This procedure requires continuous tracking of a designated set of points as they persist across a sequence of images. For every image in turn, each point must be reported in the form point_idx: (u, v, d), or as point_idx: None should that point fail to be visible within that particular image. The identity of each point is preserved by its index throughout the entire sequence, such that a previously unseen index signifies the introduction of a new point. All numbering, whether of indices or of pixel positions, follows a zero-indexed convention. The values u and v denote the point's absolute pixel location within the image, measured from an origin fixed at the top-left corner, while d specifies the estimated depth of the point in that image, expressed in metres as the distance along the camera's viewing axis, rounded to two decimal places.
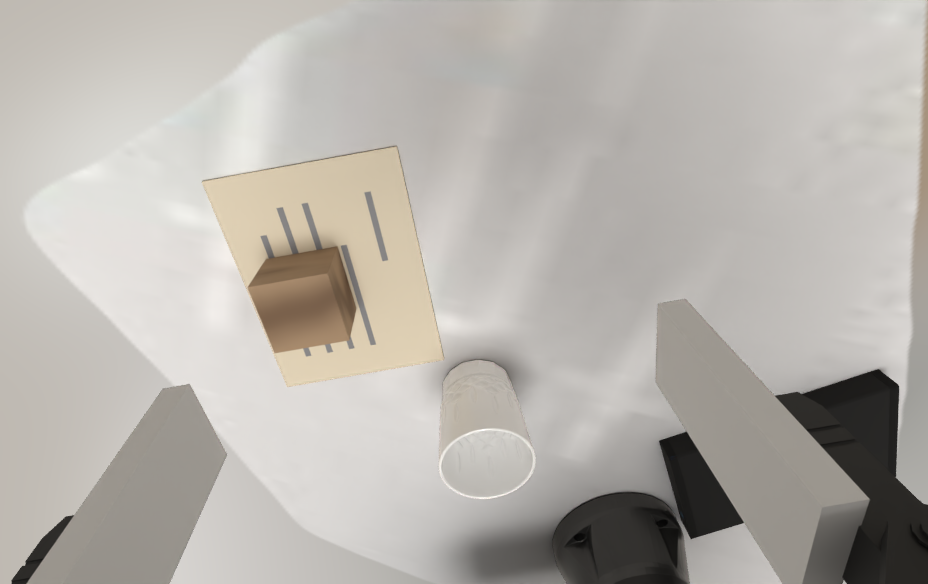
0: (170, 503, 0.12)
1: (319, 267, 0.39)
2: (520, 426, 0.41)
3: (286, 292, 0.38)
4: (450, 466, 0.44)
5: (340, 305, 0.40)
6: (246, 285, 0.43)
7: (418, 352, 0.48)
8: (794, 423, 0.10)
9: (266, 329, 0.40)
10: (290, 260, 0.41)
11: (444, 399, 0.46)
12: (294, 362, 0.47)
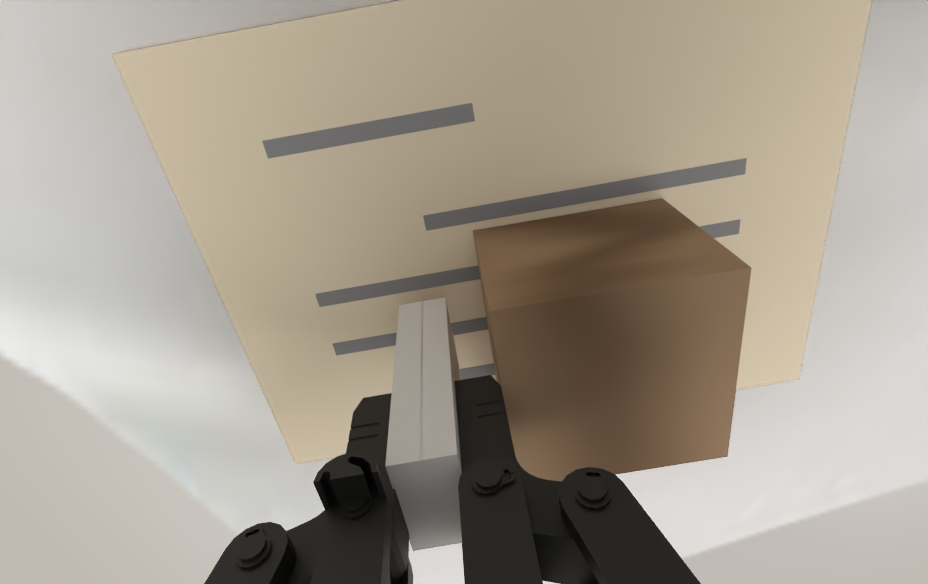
0: None
1: (488, 310, 0.13)
2: None
3: (541, 414, 0.13)
4: None
5: (618, 275, 0.12)
6: None
7: (821, 16, 0.14)
8: (448, 398, 0.12)
9: (648, 466, 0.14)
10: None
11: None
12: None
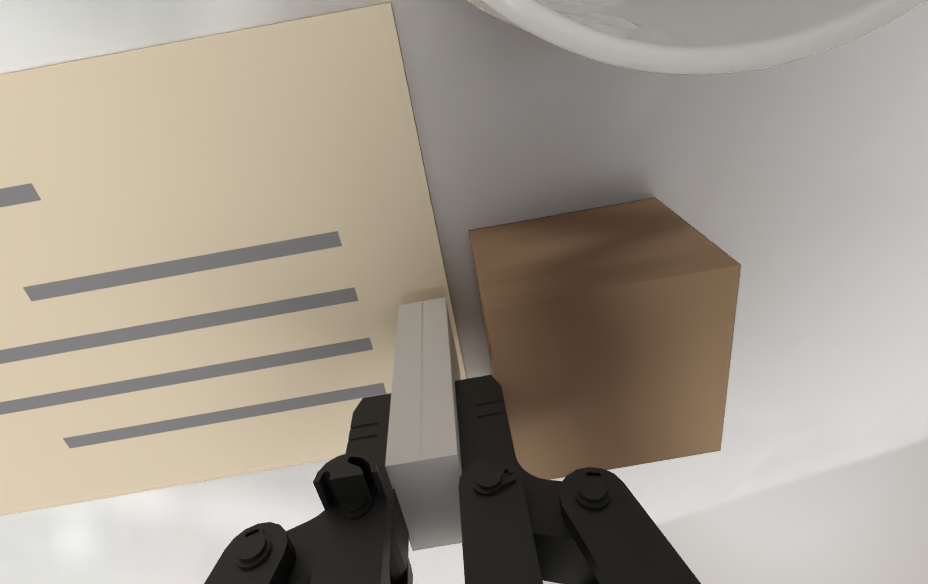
0: None
1: (484, 309, 0.14)
2: None
3: (537, 410, 0.14)
4: None
5: (611, 273, 0.13)
6: (204, 478, 0.20)
7: (361, 100, 0.14)
8: (448, 398, 0.12)
9: (642, 460, 0.15)
10: (488, 345, 0.17)
11: None
12: None
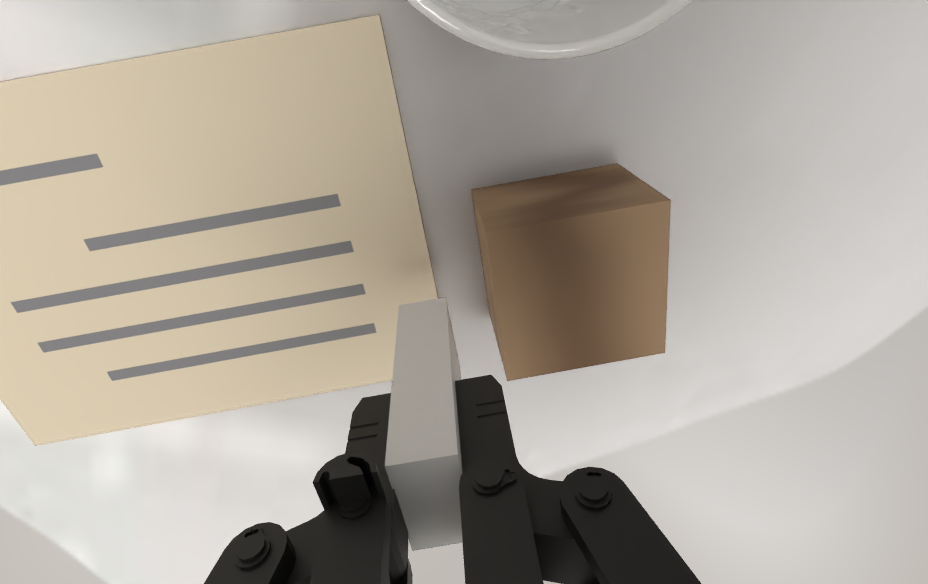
0: None
1: (484, 240, 0.18)
2: None
3: (524, 316, 0.18)
4: (621, 0, 0.11)
5: (578, 208, 0.17)
6: (223, 409, 0.24)
7: (356, 89, 0.18)
8: (449, 398, 0.12)
9: (605, 360, 0.19)
10: (486, 280, 0.21)
11: None
12: (392, 352, 0.24)
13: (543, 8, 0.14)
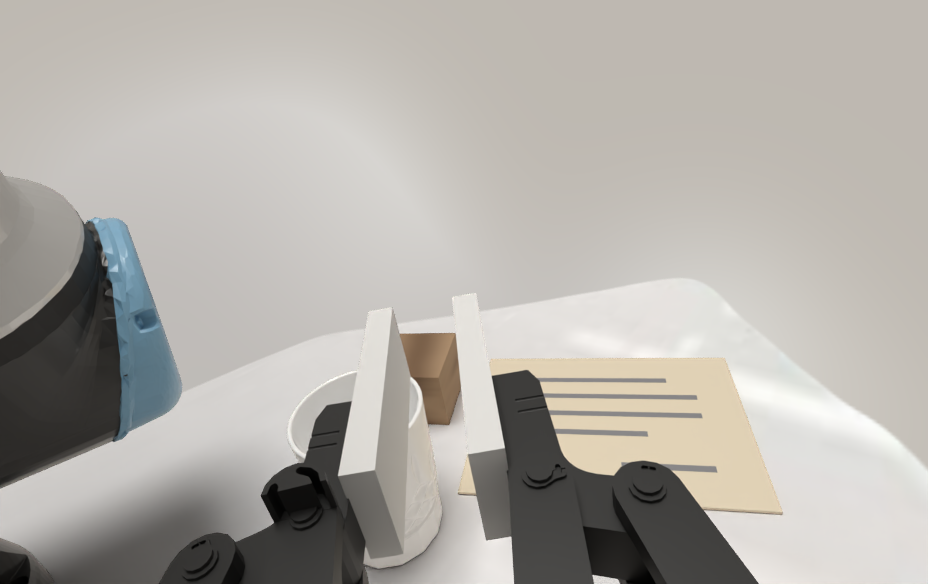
0: (399, 401, 0.14)
1: (443, 384, 0.41)
2: None
3: (437, 351, 0.42)
4: None
5: None
6: (612, 359, 0.45)
7: None
8: (490, 392, 0.12)
9: (414, 334, 0.45)
10: (456, 384, 0.44)
11: None
12: (516, 369, 0.46)
13: None
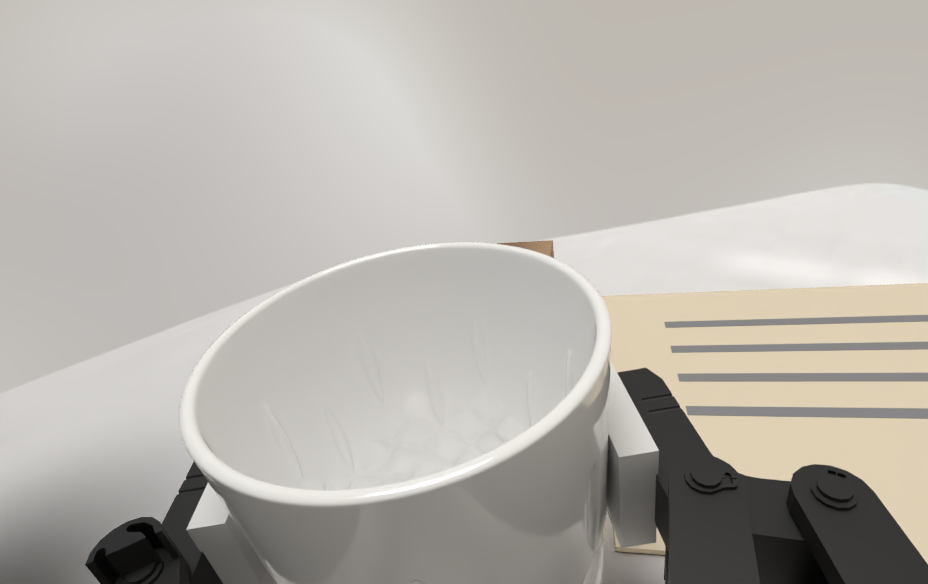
0: None
1: None
2: (503, 525, 0.07)
3: None
4: (397, 322, 0.14)
5: None
6: (827, 288, 0.26)
7: None
8: (622, 391, 0.11)
9: None
10: None
11: None
12: (652, 309, 0.26)
13: (449, 434, 0.15)
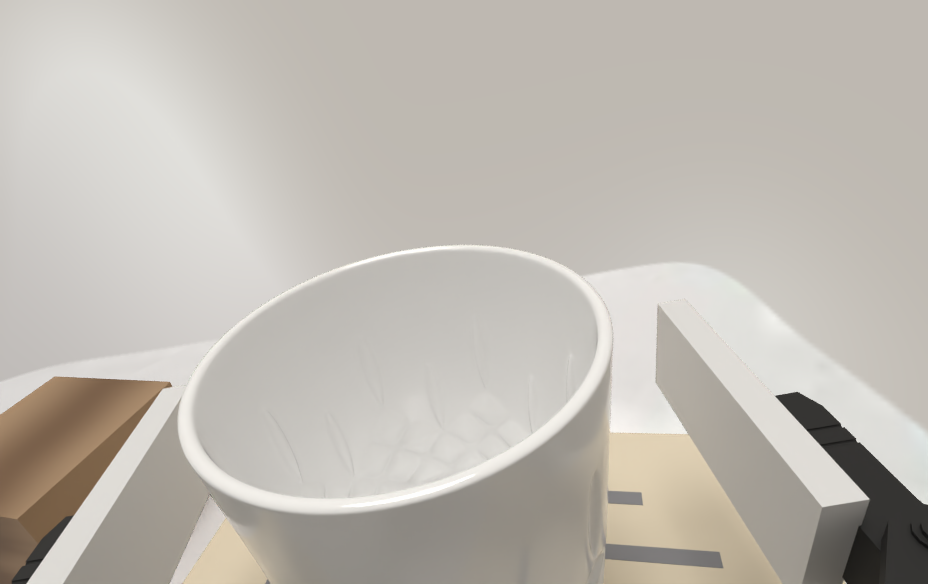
0: (170, 503, 0.12)
1: None
2: (504, 532, 0.07)
3: (92, 431, 0.18)
4: (397, 325, 0.14)
5: None
6: None
7: None
8: (794, 423, 0.10)
9: (92, 380, 0.20)
10: None
11: None
12: None
13: (449, 437, 0.15)
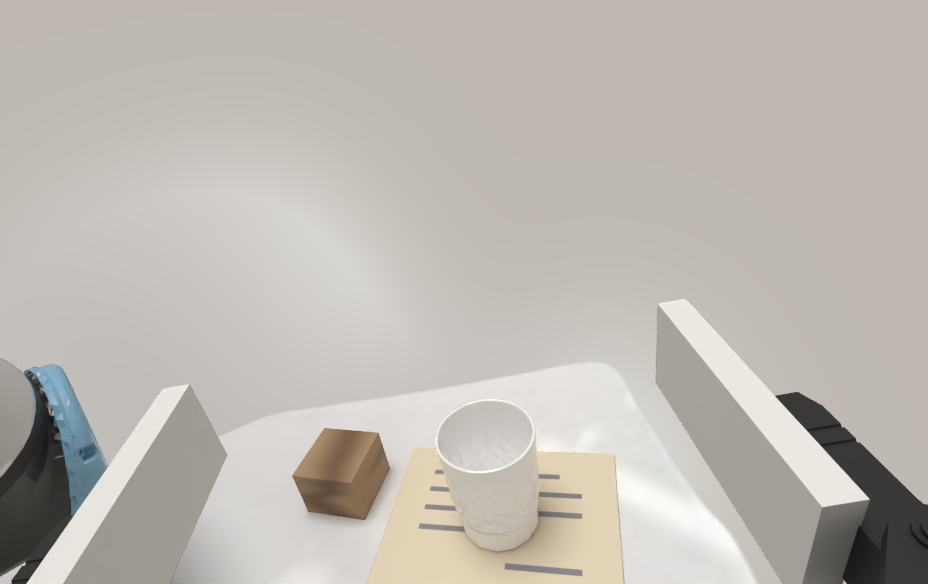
0: (170, 503, 0.12)
1: (358, 486, 0.46)
2: (511, 478, 0.37)
3: (358, 452, 0.48)
4: (476, 421, 0.44)
5: (321, 484, 0.46)
6: None
7: (387, 565, 0.42)
8: (794, 423, 0.10)
9: (343, 430, 0.51)
10: (377, 479, 0.50)
11: None
12: (434, 459, 0.52)
13: (491, 455, 0.46)
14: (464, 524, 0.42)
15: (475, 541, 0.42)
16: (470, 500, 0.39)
